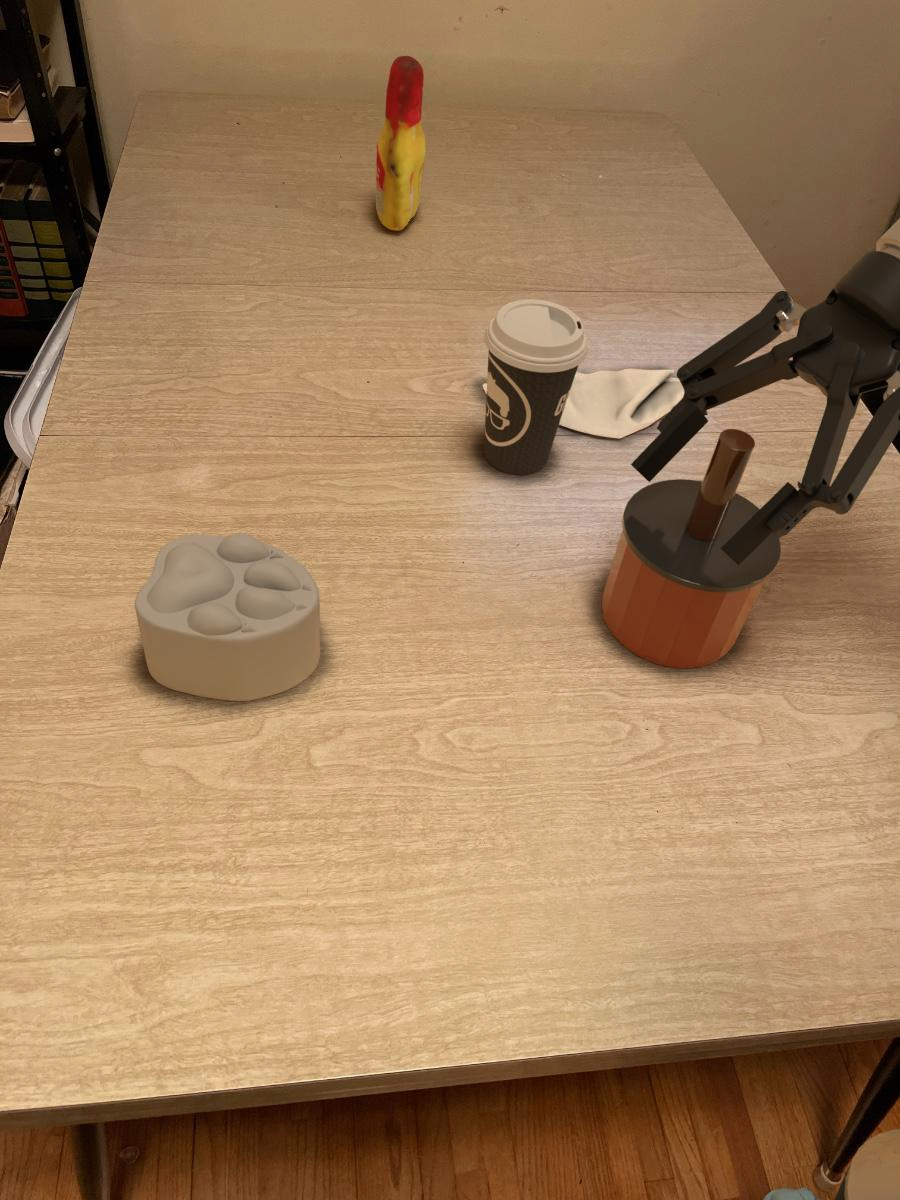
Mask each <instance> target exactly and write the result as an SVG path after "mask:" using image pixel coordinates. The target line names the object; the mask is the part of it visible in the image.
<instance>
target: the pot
mask: <svg viewBox="0 0 900 1200" xmlns="http://www.w3.org/2000/svg"><path fill="white" fill-rule="evenodd" d="M765 581H766V580H764V581H763V582H762V583H760V584H758V585H756V586H754V587H752V588H749V589H746V590H742V591H737V592H727V593H718V592H707V591H700V590H696V589H691V588H688V587H685V586H682V585H679V584H677V583H674V582H672V581H670V580H668V579H666V578H664V577H662V576H660V575H659V574H657V573H656V572H654V571H653V570H651V569H650V568H649V567H647V566H646V565H645V564H644V563H643V562H642V561H641V560H640V559H639V558H638V557H637V556H636V555H635V554H634V552H633V551H632V550H631V548H630V547H629V545H628V543H627V541H626V539H625V536H624V532H623V529H622V530H621V533H620V537H619V541H618V544H617V547H616V550H615V553H614V555H613V560H612V563H611V566H610V569H609V573H608V576H607V579H606V582H605V585H604V589H603V592H602V595H601V612H602V616H603V619H604V622H605V624H606V626H607V628H608V630H609V631H610V633H611V634H612V635H613V637H614V638H615V639H616V640H617V641H618V642H619V644H621V645H622V646H623V647H625V649H627V650H628V651H630V652H631V653H633V654H634V655H636V656H637V657H639V658H642V659H644V660H645V661H648V662H651V663H654V664H656V665H659V666H664V667H667V668H676V669H695V668H701V667H706V666H709V665H711V664H714V663H715V662H717V661H719V660H720V659H723V657H725V655H726V654H728V652H730V650H731V648H733V647H734V646H735V643H736V642H737V639H738V638H739V636H740V634H741V632H742V629H743V627H744V625H745V623H746V621H747V620H748V617H749V615H750V612H751V610H752V609H753V606H754V603H755V602H756V600H757V598H758V595H759V594H760V592H761V589H762V587H763V586H764V583H765Z"/></svg>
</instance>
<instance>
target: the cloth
mask: <svg viewBox="0 0 900 1200" xmlns="http://www.w3.org/2000/svg"><path fill="white" fill-rule="evenodd" d="M674 373H675V369H644V368H643V369H641V368H625V369H620V370H618V371H616V370H615V371H613V370H599V371H595V372H590V373H583V372H579V371H576V374H575V377H574V380H573V383H572V386H571V389H570V392H569V395H568V398H567V401H566V404H565V408H564V411H563V414H562V417H561V420H560V423H559V426H562V427H565V428H567V429H571V430H574V431H577V432H581V433H585V434H589V435H593V436H599V437H605V438H612V439H619V440H620V439H622V438H624V437H627V436H629V435H632V434H633V433H636V432H639V431H641V430H643V429H645V428H647V427H649V426H650V425H652V424H653V423H656V421H658V420H660V419H661V418H663V417H665V416H666V415H667V414H668V413H669V412H670V411H671V410H672V409H673V408H674V407H675V405H676V404H677V403H678V402H679V401H680V400H681V399H682V398H683V396H684V388H683V386H682V384H681V382H680V380H679V379H678V377H671V376H672V375H674ZM482 389H483V391H484V393H485V395H486V396H487V382H486V383H483V384H482Z"/></svg>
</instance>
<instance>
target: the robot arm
mask: <svg viewBox="0 0 900 1200" xmlns="http://www.w3.org/2000/svg"><path fill="white" fill-rule="evenodd" d="M796 326H798V327H797V332H796V336H794V337H791V338H790V339H788V340H785V341H782V342H780V343H778V344H775V345H774V346H773V347H771V350H770V351H768V352H766V353H764V354H761V355H759V356H756V357H754V358H752V359H750V360H747V359H748V358H749V357H751V356H753V355H754V354H755V353H757V352H759V351H760V350H761V349H763V348H765V347H766V346H767V345H769V344H770V343H772V342H773V341H774V340H776V339H777V338H778V337H779V336H781V334H782V333H783V332H785V333H789V332H791V331H792V329H793V328H794V327H796ZM745 360H747V361H745ZM744 361H745V362H744ZM676 378H678V379H679V380H680V382H681V384H682V386H683V388H684V396H683V398H682V399H681V400H680V401H679V402H678V403H677V404H676V405H675V407H673V408H672V409H671V411H670V412H668V413H667V414H665V415H664V416H663V417H662V419H661V420H659V422H658V425H657V427H656V429H657V431H658V432H659V434H658V435H657V436H656V437H655V438H654V440H653V441H651V443H649V444H648V446H646V448H644V450H643V451H641V453H640V454H639V455H638V456H637V457H636V458H635V459H634V460H633V462H631V463H630V465H631V466H632V468H634V470H636V471H637V472H638V473H639V474H640V475H641V476H642V477H643V478H644V479H645V480H646V481H647V482H648V483H651V481H652V480H654V478H655V477H656V476H657V475H658V474H659V473H660V472H661V471H662V470H663V469H664V468H665V467H666V466H667V465H668V464H669V463H670V462H671V461H672V460H673V459H674V457H676V456H677V454H679V452H680V451H681V450H682V449H683V448H684V447H685V446H686V445H687V444H688V443H689V442H690V441H691V440H692V439H694V437H695V436H696V435H697V434H698V433H699V432H700V431H701V430H702V429H703V428H704V427H705V425H706V424H708V423H709V419H708V418H707V417H706V416H708V415H709V414H708V410H711V409H714V408H716V407H718V406H721V405H724V404H726V403H728V402H731V401H733V400H736V399H738V398H740V397H743V396H746V395H747V394H750V393H753V392H755V391H758V390H760V389H762V388H765V387H767V386H770V385H773V384H775V383H777V382H779V381H782V380H784V381H785V380H786V381H789V380H793V379H796V378H800V379H802V380H803V381H804V382H806V383H807V384H810V385H812V386H815V387H817V388H818V389H819V390H820V392H821V393H822V395H823V396H825V397H826V404H825V408H824V411H823V415H822V417H821V421H820V424H819V427H818V429H817V433H816V436H815V440H814V442H813V446H812V448H811V450H810V451H811V452H810V454H809V458H808V460H807V464H806V467H805V470H804V472H803V475H802V479H801V482H800V480H799V481H797V487H798V489H797V488H796V487H795V486H794V485H792V483H790V482H789V481H787V482H786V483H785V484H784V485H783V486H782V487H781V488H780V489H778V490H777V492H776V493H775V494H774V495H772V497H771V498H770V499H769V500H767V502H765V504H763V506H762V507H761V508H759V509H760V510H759V511H758V512H757V513H756V514H755V515H754V516H753V517H752V518H751V519H750V520H749V521H748V522H747V523H746V524H745V525H744V526H743V527H742V528H741V529H740V530H739V531H738V532H737V533H736V534H735V535H734V536H733V537H732V538H731V539H730V540H728V541H727V542H726V543H725V544H724V545H723V546H722V547H721V549H722V550H723V551H724V552H725V553H726V554H727V555H728V556H729V557H730V558H731V559H732V560H733V561H734V562H735V563H736V564H737V565H740V564H741V563H742V562H743V561H744V560H745V559H746V558H747V557H748V556H749V555H750V554H751V553H752V552H753V551H754V550H755V549H756V548H757V547H758V546H759V545H760V544H761V543H762V542H763V541H764V540H765V539H766V538H767V537H768V536H769V535H770V534H771V533H772V532H773V533H775V534H776V535H777V536H778V537H779V539H780V538H782V537H785V536H787V535H788V534H789V533H790V532H792V530H793V529H794V528H795V527H796V526H797V525H798V524H799V523H800V522H801V521H803V520H804V519H805V518H806V516H808V515H809V513H811V511H813V510H814V509H816V508H823V509H828V510H831V511H833V512H834V513H835V514H838V515H845V514H848V513H849V512H850V511H851V509H852V507H853V506H854V504H855V502H856V501H857V499H858V498H859V497H860V494H862V491H863V490H864V489H865V486H866V485H867V483H868V482H869V481H870V479H871V476H872V475H873V473H874V472H875V470H876V468H877V467H878V465H879V464H880V463H881V461H882V459H883V457H884V456H885V454H886V452H887V451H888V449H889V448H890V446H891V444H892V443H893V441H894V440H895V438H896V436H897V435H898V433H899V431H900V217H899V218H898V219H897V220H896V221H895V222H894V223H893V224H892V225H891V226H890V228H889V229H887V230H886V231H885V232H884V233H883V235H882V236H880V238H878V240H877V241H876V244H875V250H872V251H868V252H866V253H864V254H863V256H862V257H861V258H860V259H859V260H857V262H856V263H855V264H854V265H853V266H851V268H850V269H849V270H848V271H847V272H846V273H845V274H844V275H843V276H842V277H841V278H840V279H839V280H838V282H836V283H835V285H833V288H832V289H831V291H830V292H829V294H828V295H827V296H826V298H825V299H824V300H822V301H821V302H819V303H817V304H816V305H814V306H811V307H809V308H806V307H805V306H802V305H801V304H799V303H797V302H795V301H793V300H792V298H791V295H790V293H789V292H788V291H786V290H779V291H777V292H776V293H775V294H774V295H773V296H772V297H771V298H770V300H768V302H767V303H766V305H764V307H763V308H762V309H761V310H760V311H759V312H758V313H757V314H756V315H754V316H753V317H751V318H749V320H747V321H745V322H744V323H743V324H741V325H739V326H738V327H737V328H736V329H734V330H732V331H731V332H729V333H728V334H727V335H725V336H724V337H722V338H721V339H719V340H718V341H716V342H714V344H712V345H710V346H709V347H708V348H705V350H703V351H702V352H700V353H699V354H698V355H696V356H695V357H693V358H692V359H691V360H689V361H687V362H686V363H685V364H683V365H682V366H680V367H679V368H678V369H677V371H676ZM884 388H886V390H885V391H884V393H883V395H882V400H883V402H882V403H881V404H880V405H879V407H878V408H877V410H876V411H875V413H874V415H873V416H872V417H871V419H870V421H869V423H868V424H867V426H866V428H865V429H864V431H863V433H862V434H861V435H860V437H859V439H858V441H857V442H856V444H855V445H854V447H853V449H852V450H851V452H850V453H849V455H848V457H847V458H846V460H845V461H844V463H843V465H842V466H841V468H840V470H839V471H838V472H837V474H836V476H835V477H834V480H833V476H834V473H835V470H836V467H837V464H838V461H839V457H840V455H841V452H842V448H843V446H844V442H845V440H846V437H847V433H848V431H849V427H850V424H851V421H852V420H853V419H854V418H855V415H856V412H857V410H858V406H859V403H860V400H861V397H862V394H865V393H868V392H872V391H876V390H879V389H884ZM832 480H833V481H832ZM762 1200H825V1198H821V1197H818V1196H815V1194H814V1192H813V1191H812V1190H810V1189H808V1188H806V1187H805V1186H803V1187H801V1188H799V1189H796V1188H795V1189H793V1188H786V1187H782V1188H780V1189H779V1188H778V1189H773V1190H771V1191H770V1192H768V1193H767V1194H766V1195H765V1196H764V1198H763V1199H762ZM833 1200H900V1128H896V1129H894V1128H893V1129H890V1130H887V1131H884V1132H880V1133H878V1134H876V1135H874V1136H872V1137H870V1138H869V1139H867V1140H866V1141H865V1142H863V1144H862V1145H861V1146H860V1147H859V1148H858V1149H857V1151H856V1152H855V1154H854V1156H853V1157H852V1159H851V1161H850V1163H849V1166H848V1168H847V1170H846V1172H845V1174H844V1177H843V1179H842V1181H841V1184H840V1186H839V1188H838V1190H837V1193H836V1194H835V1196H834V1198H833Z"/></svg>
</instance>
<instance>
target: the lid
mask: <svg viewBox="0 0 900 1200" xmlns="http://www.w3.org/2000/svg"><path fill="white" fill-rule="evenodd" d="M755 447H756V441H755V439H754V438H753V436H751V435H750V433H748V432H746V431H743V430H742V429H738V428H727V429H724V430H722V431H721V432H720V433H719V435H718V438H717V441H716V444H715V447H714V449H713V452H712V454H711V457H710V460H709V463H708V464H707V468H706V471H705V473H704V475H703V479H702V480H695V479H685V478H683V479H681V478H678V479H677V478H675V479H666V480H660V481H656V482H653V483H650V484H648V485H646V486H644V487H642V488H640V489H639V490H637V492H635V493H634V494H633V495H631V497H629V500H628V502H627V503H626V505H625V508H624V510H623V514H622V520H621V527H622V528H621V529H622V530H623V532H624V536H625V539H626V541H627V543H628V545H629V547H630V548H631V550H632V551H633V552H634V554H635V555H636V556H637V557H638V558H639V559H640V560H641V561H642V562H643V563H644V564H645V565H646V566H647V567H649V568H650V569H651V570H653V571H654V572H656V573H657V574H659V575H660V576H662V577H664V578H666V579H668V580H670V581H672V582H674V583H677V584H679V585H682V586H685V587H688V588H691V589H696V590H700V591H707V592H718V593H727V592H737V591H742V590H746V589H749V588H752V587H754V586H756V585H758V584H760V583H762V582H763V581H764V580H765V581H766V580H767V579H768V578H769V577H770V576H771V575H772V574H773V573H774V571H775V570H776V568H777V566H778V563H779V562H780V559H781V553H782V543H781V540H780V538H779V537H778V536H777V535H776V534H775V533H773V532H772V533H771V534H770V535H769V536H768V537H767V538H766V539H765V540H764V541H763V542H762V543H761V544H760V545H759V546H758V547H757V548H756V549H755V550H754V551H753V552H752V553H751V554H750V555H749V556H748V557H747V558H746V559H745V560H744V561H743V562H742V563H741V564H740V565H737V564H736V563H735V562H734V561H733V560H732V559H731V558H730V557H729V556H728V555H727V554H726V553H725V552H724V551H723V550H722V549H721V547H722V546H723V545H724V544H725V543H726V542H727V541H728V540H730V539H731V538H732V537H733V536H734V535H735V534H736V533H737V532H738V531H739V530H740V529H741V528H742V527H743V526H744V525H745V524H746V523H747V522H748V521H749V520H750V519H751V518H752V517H753V516H754V515H755V514H756V513H757V512H758V511H759V510H760V509H761V508H759V507H758V506H757V505H756V504H755V503H753V502H752V501H751V500H749V499H747V498H746V497H744V496H742V494H740V493H737V490H738V488H739V485H740V483H741V480H742V478H743V476H744V474H745V470H746V468H747V466H748V463H749V461H750V459H751V457H752V453H753V451H754V448H755ZM765 581H764V582H765Z"/></svg>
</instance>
